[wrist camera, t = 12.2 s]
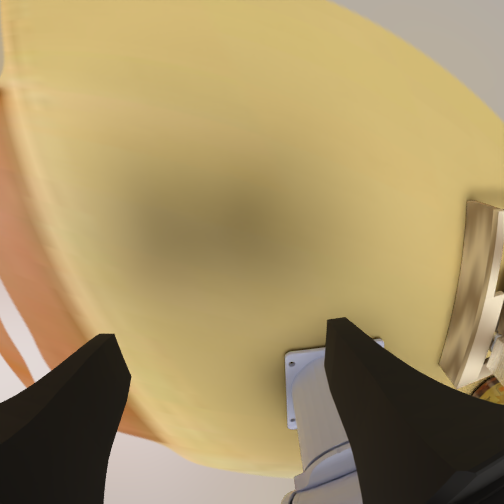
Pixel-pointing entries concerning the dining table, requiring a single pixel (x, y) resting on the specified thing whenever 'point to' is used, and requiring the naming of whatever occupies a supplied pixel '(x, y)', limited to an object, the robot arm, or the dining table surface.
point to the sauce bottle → (491, 391)
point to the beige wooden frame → (476, 297)
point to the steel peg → (497, 355)
